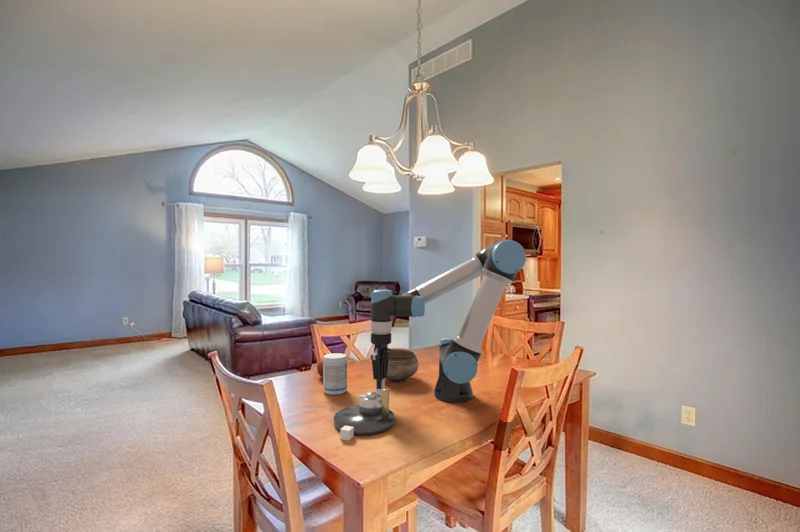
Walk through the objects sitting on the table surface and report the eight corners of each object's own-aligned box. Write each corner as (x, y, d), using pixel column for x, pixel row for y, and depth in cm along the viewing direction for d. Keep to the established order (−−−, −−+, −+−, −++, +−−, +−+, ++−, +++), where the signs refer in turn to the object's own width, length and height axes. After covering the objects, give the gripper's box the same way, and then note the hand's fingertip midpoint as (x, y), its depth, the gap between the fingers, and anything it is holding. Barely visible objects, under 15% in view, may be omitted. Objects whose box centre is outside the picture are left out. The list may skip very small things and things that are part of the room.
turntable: (402, 415, 138) (403, 381, 138) (380, 440, 119) (380, 400, 119) (351, 407, 145) (351, 374, 145) (322, 429, 126) (322, 391, 126)
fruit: (339, 380, 176) (340, 358, 176) (316, 382, 174) (316, 359, 174) (338, 373, 186) (338, 352, 186) (316, 374, 184) (317, 353, 184)
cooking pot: (406, 391, 163) (406, 361, 163) (365, 385, 170) (365, 356, 170) (426, 374, 186) (426, 348, 186) (389, 370, 194) (389, 345, 193)
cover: (385, 408, 139) (386, 391, 139) (376, 416, 132) (377, 398, 132) (365, 404, 142) (365, 388, 142) (355, 413, 135) (355, 395, 134)
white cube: (353, 436, 122) (353, 426, 122) (349, 440, 119) (349, 430, 119) (344, 435, 123) (345, 425, 123) (340, 439, 120) (340, 429, 120)
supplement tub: (350, 392, 161) (351, 356, 160) (328, 397, 155) (329, 359, 155) (340, 386, 169) (340, 351, 168) (319, 390, 163) (319, 354, 163)
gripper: (378, 328, 152) (378, 389, 153) (363, 334, 140) (363, 401, 140) (397, 330, 149) (396, 392, 150) (383, 336, 137) (382, 404, 138)
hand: (380, 396), depth 145 cm, fingers closed
